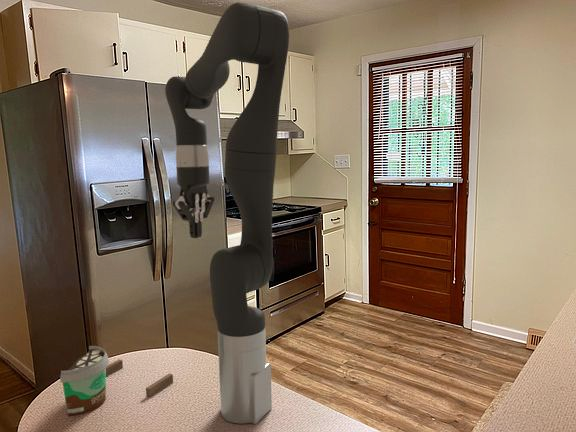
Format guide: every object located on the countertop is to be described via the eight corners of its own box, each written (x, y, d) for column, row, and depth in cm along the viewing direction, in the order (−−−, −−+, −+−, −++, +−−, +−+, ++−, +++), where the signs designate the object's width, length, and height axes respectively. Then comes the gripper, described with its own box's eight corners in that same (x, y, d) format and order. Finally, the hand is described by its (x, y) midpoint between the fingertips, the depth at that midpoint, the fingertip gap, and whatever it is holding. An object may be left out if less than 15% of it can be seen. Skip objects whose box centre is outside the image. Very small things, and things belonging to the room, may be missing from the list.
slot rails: (173, 382, 98) (172, 374, 98) (149, 398, 92) (149, 389, 92) (120, 367, 106) (119, 359, 106) (95, 380, 100) (94, 371, 100)
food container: (95, 421, 85) (91, 372, 83) (64, 421, 85) (59, 372, 83) (121, 387, 97) (118, 344, 95) (94, 387, 97) (90, 344, 96)
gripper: (186, 165, 96) (190, 243, 98) (222, 164, 107) (225, 234, 110) (160, 166, 99) (164, 241, 101) (198, 164, 111) (201, 232, 113)
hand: (196, 237), depth 106 cm, fingers closed
